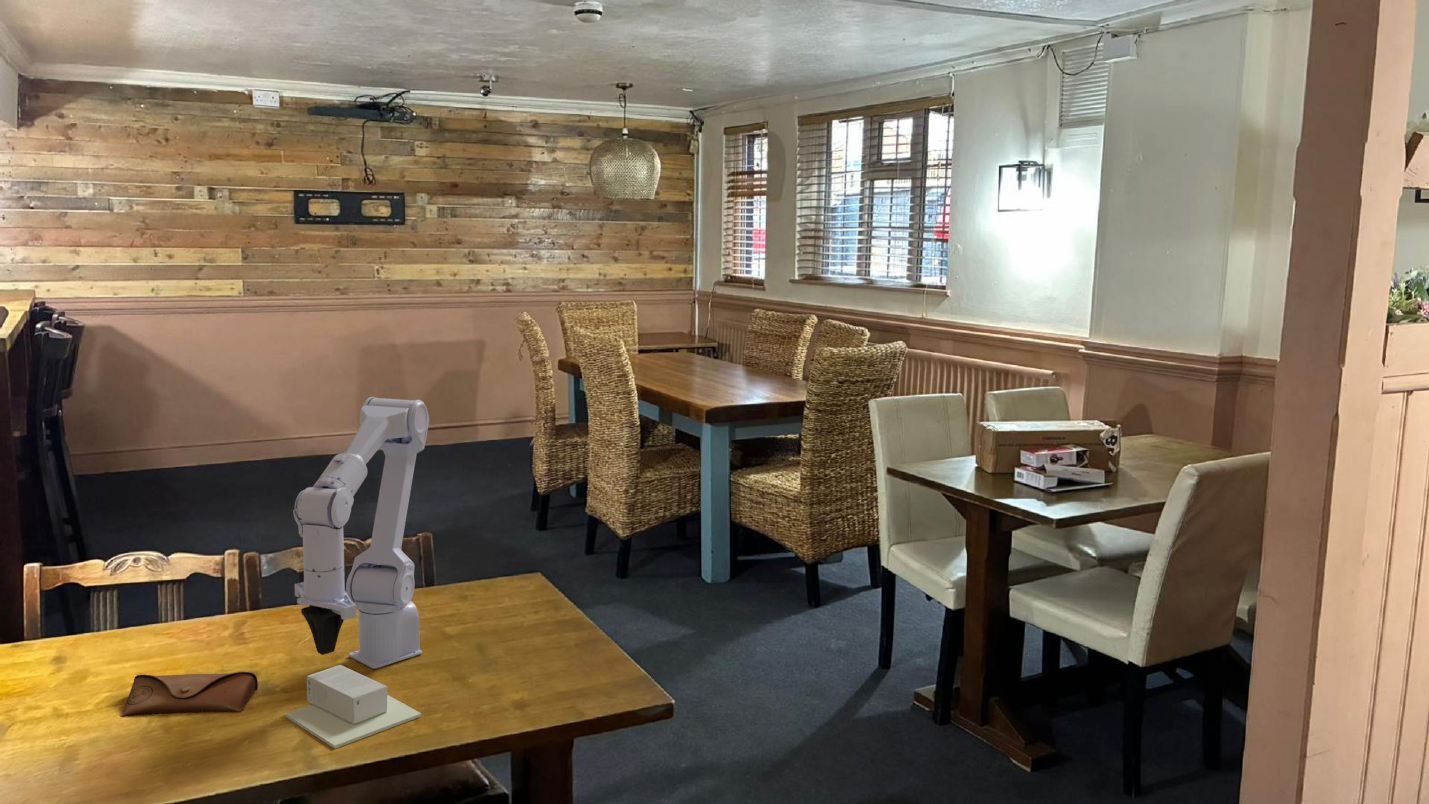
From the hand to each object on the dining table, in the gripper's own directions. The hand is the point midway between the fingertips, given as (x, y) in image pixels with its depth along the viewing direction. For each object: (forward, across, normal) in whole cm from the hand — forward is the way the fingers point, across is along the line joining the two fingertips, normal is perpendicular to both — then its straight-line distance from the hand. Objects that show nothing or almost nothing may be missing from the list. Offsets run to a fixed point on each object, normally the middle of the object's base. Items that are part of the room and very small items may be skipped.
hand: (326, 652), depth 160 cm
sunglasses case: (+9, -14, -15) cm, 22 cm away
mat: (+8, +8, 0) cm, 11 cm away
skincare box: (+5, -1, 0) cm, 5 cm away
